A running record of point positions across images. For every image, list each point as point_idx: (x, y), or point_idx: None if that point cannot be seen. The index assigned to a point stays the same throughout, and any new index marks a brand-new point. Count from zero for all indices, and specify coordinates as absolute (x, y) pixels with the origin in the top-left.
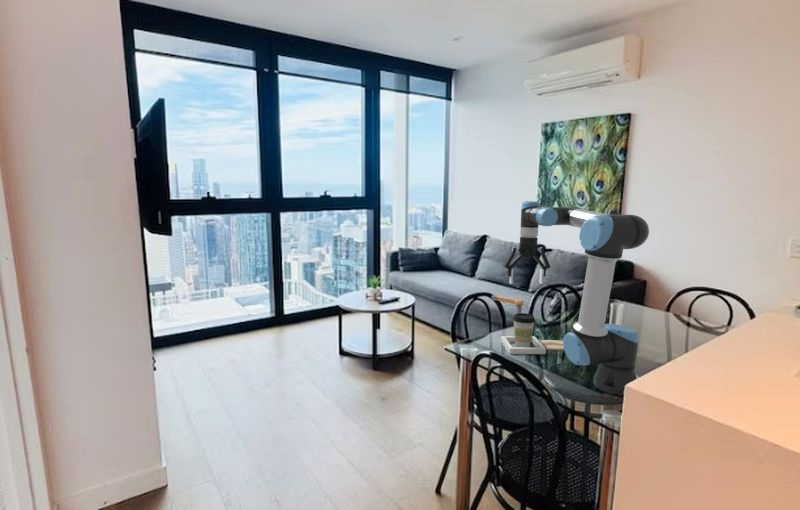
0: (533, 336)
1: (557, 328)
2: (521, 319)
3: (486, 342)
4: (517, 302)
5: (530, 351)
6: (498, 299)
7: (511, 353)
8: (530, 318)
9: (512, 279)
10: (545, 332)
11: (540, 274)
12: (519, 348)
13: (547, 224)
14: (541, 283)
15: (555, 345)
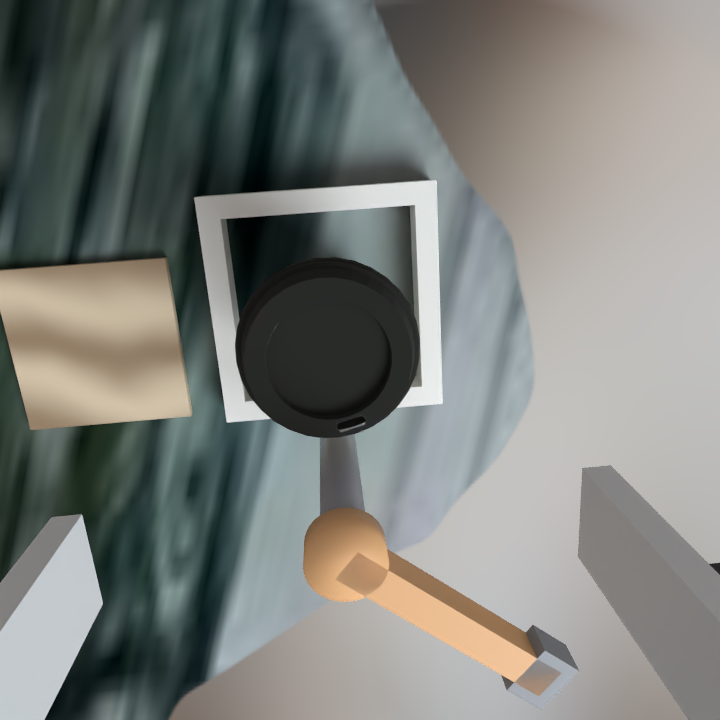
0: (233, 417)
1: None
2: (370, 283)
3: (526, 365)
4: (371, 527)
5: (299, 189)
6: (514, 632)
7: (419, 180)
8: (288, 288)
9: (627, 511)
10: (131, 561)
11: (21, 703)
12: (373, 187)
13: None
14: (72, 521)
15: (111, 331)
